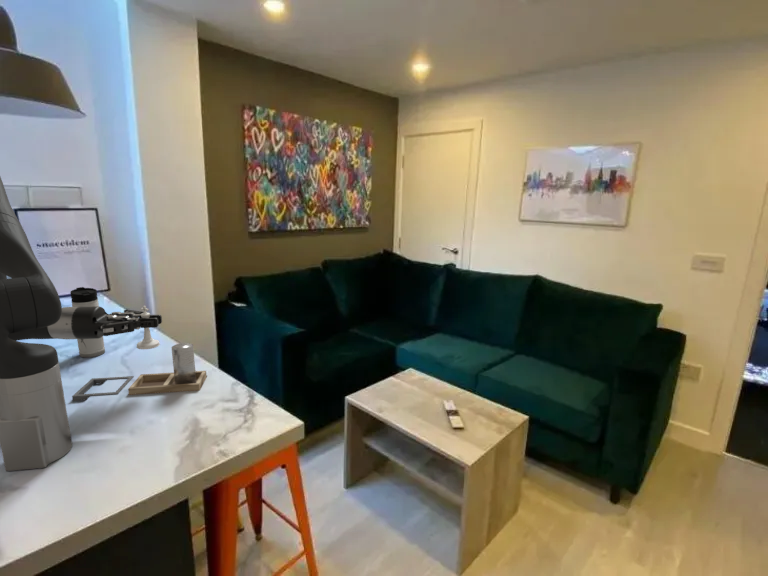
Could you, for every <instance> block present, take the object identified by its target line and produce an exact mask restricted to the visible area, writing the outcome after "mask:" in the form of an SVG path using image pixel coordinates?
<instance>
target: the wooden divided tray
mask: <svg viewBox="0 0 768 576" xmlns="http://www.w3.org/2000/svg"><path fill="white" fill-rule="evenodd" d="M195 372H196V383H190V384H175V378H174V372H158V373H143V374H140V375H139V376H138V377H137V378H136V379H135V380H134V381H133V383H132V384H131V385H130V386H129V387H128V388H127V390H128V391H127V392H128V394H127V396H135V395H136V396H138V395H153V394H165V393H166V394H167V393H181V392H194V391H195V392H196V391H198V392H199V391H201V389H202V388H203V385H204V383H205V381H206V379H207V377H208V375H207V370H195Z"/></svg>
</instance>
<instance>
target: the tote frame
mask: <svg viewBox="0 0 768 576" xmlns="http://www.w3.org/2000/svg"><path fill="white" fill-rule="evenodd" d="M133 378H134V375H132V376H131V375H129V376H128V375H127V376H115V377H114V376H113V377H110V376H109V377H99V378H98V377H97V378H95V377H94V378H91V379H89V380H88V382H87V383H85V384H84V385H83V386H81V387H80V389H78V390H77V391H76V392H75V393H74V394H73V395H72V396H71V399H72V402H79V401H80V402H81V401H87V400H88V399H89V398H91V397H97V396H111V395H113V396H114V395H119V394H120V393H121V392H122V390H123V389H125V387H126V386H127V385H128V384H129V382H130V381H132V380H133ZM108 380H109V381H110V380H125V381H124V382H123V383H122V384H121V386H120V387H118V389H117V390H116V391H112V392H111V391H110V392H96V393H94V392H93V393H87V392H88V391H89V390H90V389H91V388H93V386H94V385H101V384H105V383H106V382H107V381H108Z"/></svg>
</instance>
